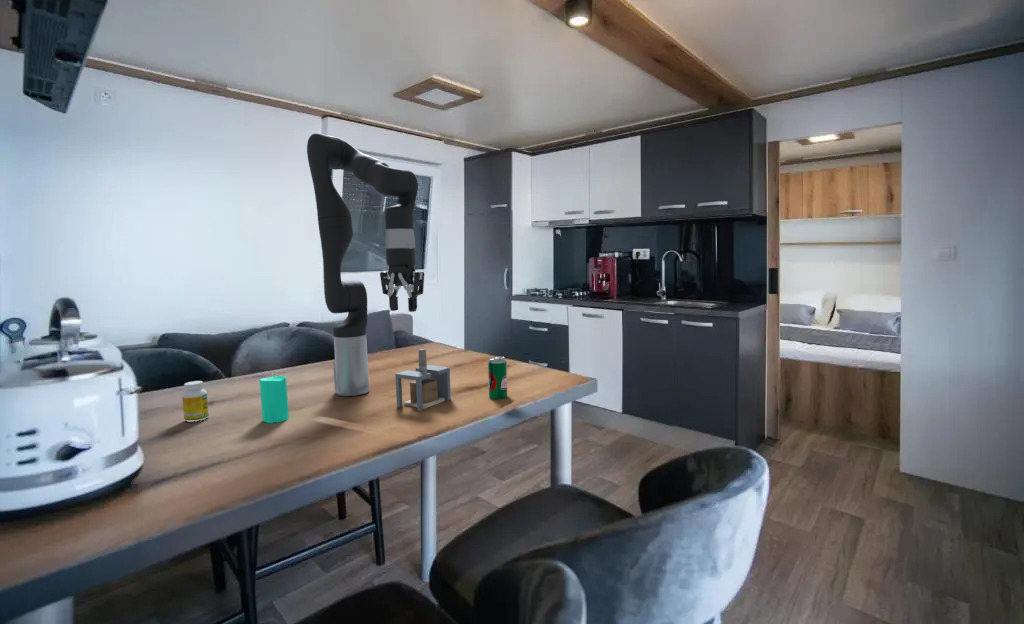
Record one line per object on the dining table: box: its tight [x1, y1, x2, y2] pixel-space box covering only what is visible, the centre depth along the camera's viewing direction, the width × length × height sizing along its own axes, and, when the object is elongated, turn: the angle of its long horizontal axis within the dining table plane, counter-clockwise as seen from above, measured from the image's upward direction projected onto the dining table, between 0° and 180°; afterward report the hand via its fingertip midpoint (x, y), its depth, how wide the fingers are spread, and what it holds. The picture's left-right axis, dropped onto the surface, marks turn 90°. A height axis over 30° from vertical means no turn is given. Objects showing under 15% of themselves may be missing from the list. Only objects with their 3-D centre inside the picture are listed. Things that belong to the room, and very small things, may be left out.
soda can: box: [487, 356, 509, 400], centre depth 138 cm, size 5×5×12 cm
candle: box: [259, 372, 290, 424], centre depth 127 cm, size 6×6×12 cm
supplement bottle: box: [181, 380, 210, 420], centre depth 129 cm, size 5×5×10 cm
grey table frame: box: [394, 364, 452, 412], centre depth 135 cm, size 27×14×10 cm, turn 58°
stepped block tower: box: [403, 348, 446, 410], centre depth 134 cm, size 7×8×14 cm
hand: (403, 310), depth 135 cm, fingers open, 6 cm apart
